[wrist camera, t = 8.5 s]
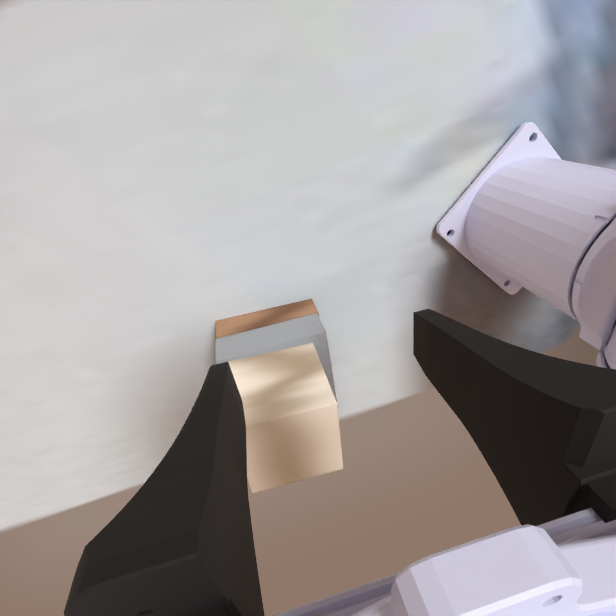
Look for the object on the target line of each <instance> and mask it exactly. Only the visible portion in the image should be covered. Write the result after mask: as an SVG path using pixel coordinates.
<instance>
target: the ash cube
mask: <svg viewBox="0 0 616 616" xmlns="http://www.w3.org/2000/svg"><path fill="white" fill-rule="evenodd" d="M228 363H229V365H230V368H231V371H232V374H233V376H234V379H235V382H236V385H237V388H238V390H239V393H240V396H241V399H242V402H243V409H244V416H245V423H246V449H247V479H248V482H249V485H250V488H251V491H252V493H255V492H259V491H263V490H267V489H270V488H274V487H278V486H281V485H284V484H288V483H292V482H295V481H300V480H303V479H307V478H310V477H314V476H318V475H321V474H325V473H328V472H332V471H336V470H340V469H343V461H342V450H341V441H340V429H339V419H338V408H337V402H336V400H335V397H334V395H333V392H332V390H331V387H330V385H329V382H328V379H327V377H326V374H325V372H324V369H323V367H322V364H321V362H320V359H319V357H318V354H317V352H316V349H315V347H314V344H313V343H309V344H305V345H300V346H296V347H291V348H287V349H283V350H278V351H274V352H269V353H265V354H260V355H256V356H251V357H247V358H242V359H238V360H234V361H229V362H228Z"/></svg>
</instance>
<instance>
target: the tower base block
mask: <svg viewBox="0 0 616 616" xmlns="http://www.w3.org/2000/svg"><path fill="white" fill-rule="evenodd" d="M315 313H317V315H318V311H317V309H316V307H315V305H314V303H313V301H312V299H309V300H304V301H300V302H296V303H291V304H287V305H283V306H278V307H274V308H270V309H265V310H261V311H257V312H252V313H248V314H243V315H239V316H235V317H230V318H226V319H222V320H217V321H216V338H217V339H218V338H222V337H226V336H230V335H234V334H237V333H241V332H245V331H249V330H253V329H257V328H261V327H265V326H269V325H272V324H276V323H280V322H284V321H288V320H292V319H296V318H300V317H304V316H307V315H311V314H315ZM318 317H319V315H318Z"/></svg>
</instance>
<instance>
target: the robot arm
mask: <svg viewBox="0 0 616 616" xmlns="http://www.w3.org/2000/svg"><path fill="white" fill-rule="evenodd" d="M531 134H533V136H532V139H531V140H529V139H530V136H531ZM449 230H451V232H450V234H449V235H447V232H448V231H449ZM436 232H437V233H438V234H439V235H440V236H441V237H442V238H443V239H444V240H446V241H447V242H448V243H449V244H450V245H451V246H453V247H454V248H455V249H456V250H457V251H458V252H460V253H461V254H462V255H463V256H464V257H466V258H467V259H468V260H469V261H470V262H471V263H473V264H474V265H475V266H476V267H477V268H478V269H480V270H481V271H482V272H483V273H484V274H485V275H487V276H488V277H489V278H490V279H491V280H492V281H494V282H495V283H496V284H497V285H498V286H499V287H501V288H502V289H503V290H504V291H505V292H507V293H508V294H510V295H513V294H516V293H517V292H518V291H519V290H520V289H521V288H522V287H524V288H525V289H527V290H529V291H530V292H532V293H534V294H535V295H537V296H538V297H540V298H542V299H543V300H545V301H546V302H548V303H550V304H551V305H553V306H555V307H556V308H558V309H559V310H561V311H563V312H564V313H566V314H568V315H569V316H571V317H572V318H574V319H576V320H577V321H579V322H580V324H581V331H580V338H582V339H583V340H585V341H586V342H588V343H589V344H591V345H592V346H594V347H595V348H597V349H598V350H600V351H599V354H598V356H597V366H592V365H587V364H582V363H576V362H572V361H567V360H563V359H559V358H555V357H551V356H547V355H543V354H540V353H536V352H533V351H530V350H527V349H524V348H520V347H517V346H514V345H511V344H509V343H506V342H503V341H501V340H498V339H496V338H493V337H491V336H488V335H486V334H483V333H481V332H479V331H476V330H474V329H472V328H470V327H467V326H465V325H463V324H461V323H459V322H457V321H455V320H452V319H450V318H448V317H446V316H444V315H442V314H440V313H437V312H435V311H433V310H430V309H426V310H422V311H418V312H414V356H415V357H416V359H417V361H418V363H419V365H420V366H421V368H422V370H423V371H424V373H425V375H426V376H427V377H428V379H429V380H430V381H431V383H432V384H433V385H434V387H435V388H436V389H437V391H438V392H439V393H440V394H441V396H442V397H443V398H444V400H445V401H446V402H447V403H448V405H449V406H450V407H451V409H452V410H453V411H454V412H455V414H456V415H457V416H458V418H459V419H460V420H461V422H462V423H463V424H464V426H465V427H466V429H467V430H468V432H469V434H470V435H471V437H472V438H473V440H474V442H475V443H476V445H477V446H478V448H479V450H480V451H481V452H482V455H483V456H484V458H485V460H486V461H487V463H488V465H489V466H490V468H491V470H492V472H493V473H494V475H495V477H496V478H497V480H498V482H499V484H500V486H501V488H502V489H503V491H504V493H505V495H506V497H507V499H508V500H509V502H510V504H511V506H512V508H513V510H514V512H515V513H516V516H517V517H518V519H519V521H520V523H521V526H516V527H511V528H508V529H506V530H503V531H500V532H497V533H494V534H491V535H488V536H485V537H482V538H479V539H476V540H473V541H470V542H467V543H464V544H461V545H458V546H455V547H452V548H450V549H446V550H443V551H441V552H438V553H435V554H432V555H429V556H426V557H424V558H422V559H420V560H418V561H416V562H414V563H411V564H410V565H408V566H407V567H406V568H405V569H404V570H403V571H401V572H400V573H397V574H394V575H391V576H388V577H385V578H382V579H380V580H376V581H374V582H371V583H368V584H365V585H362V586H359V587H356V588H353V589H350V590H347V591H344V592H341V593H338V594H336V595H332V596H330V597H327V598H324V599H321V600H318V601H315V602H312V603H309V604H306V605H303V606H300V607H297V608H294V609H292V610H289V611H286V612H283V613H280V614H277V615H274V616H616V170H613V169H608V168H602V167H597V166H591V165H586V164H580V163H575V162H570V161H564V160H561V158H560V157H559V156H558V154H557V153H556V152H555V150H554V149H553V148H552V146H551V145H550V144H549V142H548V141H547V139H546V138H545V137H544V135H543V134H542V133H541V131H540V130H539V129H538V127H537V126H536V125H535V124H534V123H531V122H526V123H523V124H522V125H521V126H520V127H519V129H518V130H517V131H516V132H515V133H514V134H513V136H512V137H511V138H510V139H509V140H508V142H507V143H506V144H505V145H504V146H503V148H502V149H501V150H500V151H499V152H498V153H497V155H496V156H495V157H494V158H493V159H492V161H491V162H490V163H489V164H488V165H487V167H486V168H485V169H484V170H483V171H482V172H481V174H480V175H479V176H478V177H477V178H476V180H475V181H474V182H473V183H472V184H471V185H470V187H469V188H468V189H467V190H466V191H465V193H464V194H463V195H462V196H461V197H460V199H459V200H458V201H457V202H456V203H455V204H454V206H453V207H452V208H451V209H450V210H449V212H448V213H447V214H446V215H445V216H444V218H443V219H442V220H441V221H440V222H439V223H438V225H437V227H436ZM505 281H506V283H505ZM247 489H248V488H247V449H246V423H245V416H244V409H243V402H242V399H241V396H240V393H239V390H238V388H237V385H236V382H235V379H234V376H233V374H232V371H231V368H230V365H229V363H228V362H224V363H220V364H216V365H212V366H211V367H210V369H209V371H208V374H207V376H206V379H205V382H204V384H203V386H202V389H201V391H200V393H199V396H198V398H197V400H196V402H195V404H194V406H193V408H192V410H191V413H190V414H189V416H188V418H187V420H186V422H185V424H184V426H183V427H182V429H181V431H180V433H179V435H178V436H177V438H176V440H175V441H174V443H173V444H172V446H171V448H170V449H169V451H168V452H167V454H166V455H165V457H164V458H163V460H162V461H161V462H160V464H159V465H158V466H157V468H156V469H155V471H154V472H153V473H152V475H151V476H150V477H149V478H148V480H147V481H146V482H145V484H144V485H143V486H142V487H141V488H140V490H139V491H138V492H137V493H136V494H135V496H134V497H133V498H132V499H131V500H130V501H129V502H128V503H127V505H126V506H125V507H124V508H123V509H122V510H121V511H120V512H119V513H118V514H117V515H116V516H115V518H114V519H113V520H112V521H111V522H110V523H109V524H108V525H107V526H106V527H105V528H104V529H103V530H102V531H101V532H100V533H99V534H98V535H97V536H96V537H95V538H94V539H93V540H91V541H90V542H89V543H88V544H87V545H86V546H85V548H84V551H83V554H82V556H81V559H80V561H79V564H78V567H77V570H76V573H75V576H74V579H73V583H72V586H71V590H70V593H69V597H68V600H67V603H66V607H65V610H64V616H264V610H263V603H262V597H261V590H260V584H259V577H258V570H257V563H256V556H255V548H254V541H253V533H252V525H251V518H250V509H249V502H248V490H247Z"/></svg>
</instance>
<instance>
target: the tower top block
mask: <svg viewBox="0 0 616 616" xmlns="http://www.w3.org/2000/svg"><path fill="white" fill-rule="evenodd" d="M309 343H313V344H314V347H315V349H316V352H317V354H318V357H319V359H320V362H321V364H322V367H323V369H324V372H325V374H326V377H327V379H328V382H329V385H330V387H331V390H332V392H333V395H334V397H335V400H336V402H337V399H336V393H335V387H334V381H333V374H332V368H331V362H330V356H329V349H328V343H327V337H326V332H325V329H324V327H323V325H322V323H321V321H320V319H319V317H318V315H317V313H315V314H311V315H307V316H304V317H300V318H296V319H292V320H288V321H284V322H280V323H276V324H272V325H269V326H265V327H261V328H257V329H253V330H249V331H245V332H241V333H237V334H234V335H230V336H226V337H222V338H218V339H215V361H216V364H220V363H224V362H229V361H234V360H238V359H242V358H247V357H251V356H256V355H260V354H265V353H269V352H274V351H278V350H283V349H287V348H291V347H296V346H300V345H305V344H309ZM337 408H338V406H337Z"/></svg>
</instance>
